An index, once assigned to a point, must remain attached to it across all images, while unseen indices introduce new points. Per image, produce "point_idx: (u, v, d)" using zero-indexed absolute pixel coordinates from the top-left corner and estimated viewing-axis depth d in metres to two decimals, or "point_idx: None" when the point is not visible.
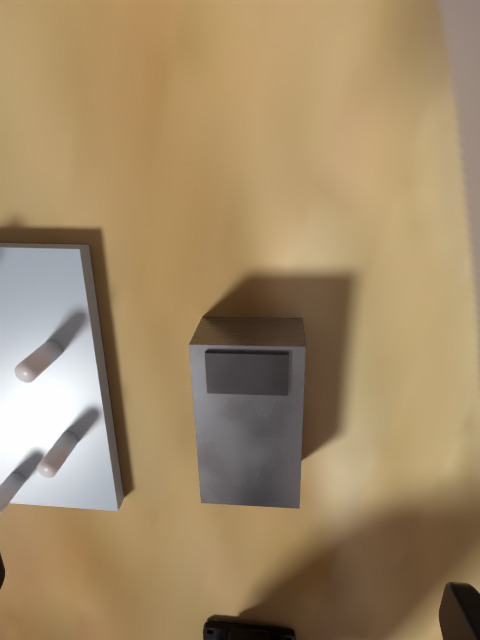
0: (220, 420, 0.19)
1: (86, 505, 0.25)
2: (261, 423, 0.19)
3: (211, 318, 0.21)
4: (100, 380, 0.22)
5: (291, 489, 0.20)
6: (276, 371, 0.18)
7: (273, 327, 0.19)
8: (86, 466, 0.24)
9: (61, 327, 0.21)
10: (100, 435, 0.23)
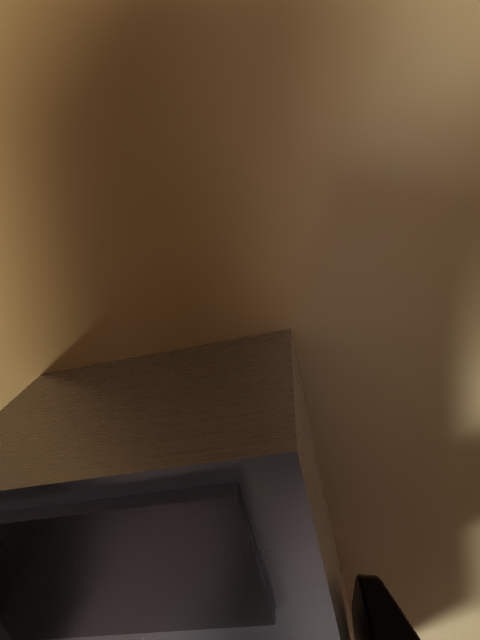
0: None
1: None
2: None
3: (56, 377, 0.08)
4: None
5: None
6: (208, 555, 0.05)
7: (203, 375, 0.06)
8: None
9: None
10: None
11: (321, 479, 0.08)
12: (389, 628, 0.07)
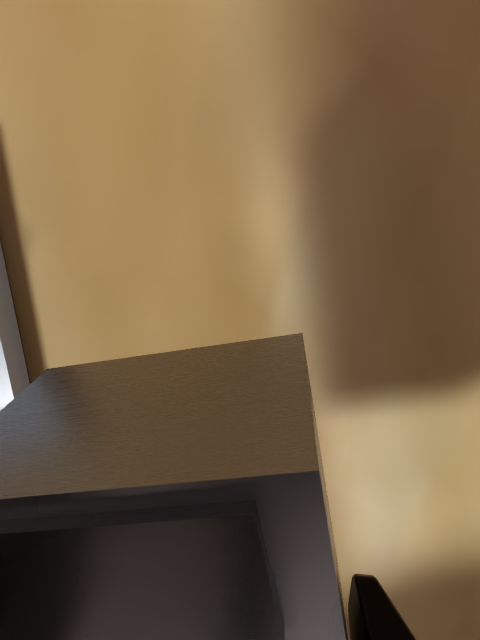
0: None
1: None
2: None
3: (59, 377, 0.08)
4: (11, 371, 0.14)
5: None
6: (220, 574, 0.04)
7: (214, 383, 0.06)
8: None
9: None
10: None
11: (326, 490, 0.08)
12: (385, 628, 0.07)
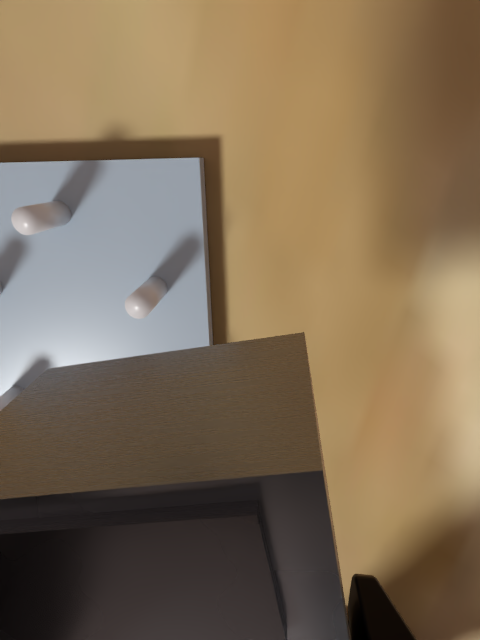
0: None
1: None
2: None
3: (59, 376, 0.08)
4: (209, 326, 0.19)
5: None
6: (222, 575, 0.04)
7: (215, 382, 0.06)
8: None
9: (168, 259, 0.17)
10: None
11: None
12: (385, 627, 0.07)
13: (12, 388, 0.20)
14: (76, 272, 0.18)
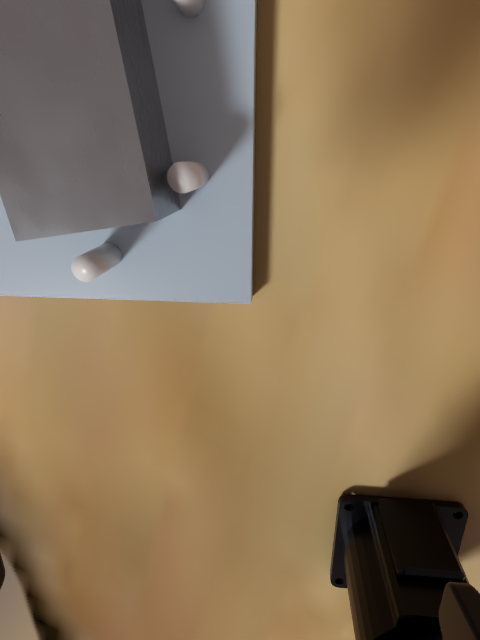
0: None
1: (206, 296, 0.18)
2: (57, 53, 0.12)
3: None
4: (254, 63, 0.15)
5: (136, 184, 0.13)
6: None
7: None
8: (214, 225, 0.17)
9: None
10: (243, 165, 0.16)
11: (145, 37, 0.14)
12: None
13: None
14: None
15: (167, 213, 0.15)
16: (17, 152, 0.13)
